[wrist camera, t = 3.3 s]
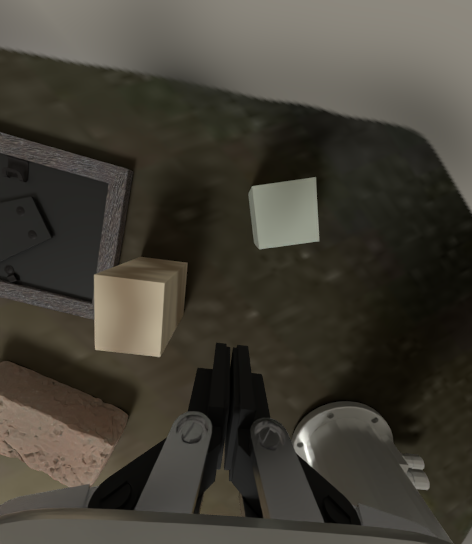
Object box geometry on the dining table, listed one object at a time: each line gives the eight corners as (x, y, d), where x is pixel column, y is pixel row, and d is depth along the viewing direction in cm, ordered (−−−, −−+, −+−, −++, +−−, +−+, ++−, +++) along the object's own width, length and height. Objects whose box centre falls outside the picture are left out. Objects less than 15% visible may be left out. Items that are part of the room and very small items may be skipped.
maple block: (187, 262, 24) (164, 283, 16) (183, 314, 25) (160, 356, 17) (140, 256, 24) (94, 274, 16) (138, 309, 25) (95, 349, 17)
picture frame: (-79, 269, 24) (112, 316, 26) (-107, 273, 22) (102, 324, 24) (-86, 109, 21) (135, 172, 22) (-119, 97, 19) (126, 168, 20)
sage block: (298, 186, 22) (315, 177, 17) (301, 236, 23) (319, 240, 18) (248, 193, 22) (252, 186, 17) (254, 243, 23) (259, 249, 19)
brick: (-13, 406, 28) (-61, 442, 24) (6, 354, 26) (-42, 382, 22) (110, 455, 30) (87, 497, 25) (135, 410, 28) (116, 447, 24)
